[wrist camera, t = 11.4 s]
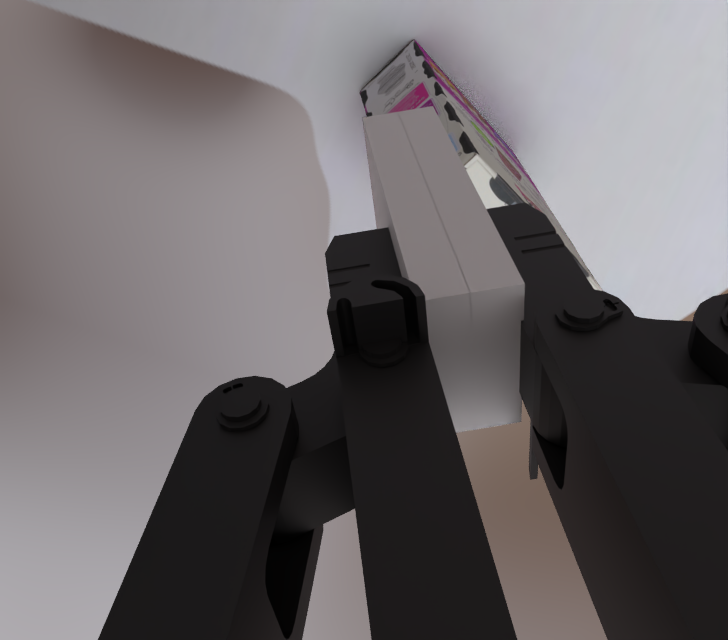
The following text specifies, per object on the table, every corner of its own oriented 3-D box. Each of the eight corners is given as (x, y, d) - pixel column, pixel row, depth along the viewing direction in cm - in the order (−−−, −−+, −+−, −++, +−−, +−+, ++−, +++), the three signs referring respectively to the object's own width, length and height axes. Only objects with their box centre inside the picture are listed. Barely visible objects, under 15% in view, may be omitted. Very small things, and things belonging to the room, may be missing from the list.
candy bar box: (353, 94, 44) (390, 223, 31) (412, 35, 42) (477, 146, 29) (461, 202, 50) (530, 349, 37) (517, 155, 48) (611, 292, 35)
